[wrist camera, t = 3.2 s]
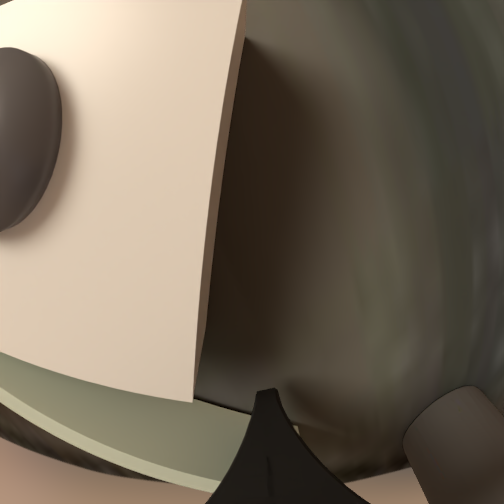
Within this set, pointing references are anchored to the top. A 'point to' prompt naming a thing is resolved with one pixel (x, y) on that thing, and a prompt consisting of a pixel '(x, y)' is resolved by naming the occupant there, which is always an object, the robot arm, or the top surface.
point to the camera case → (113, 183)
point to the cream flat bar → (128, 424)
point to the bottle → (458, 449)
